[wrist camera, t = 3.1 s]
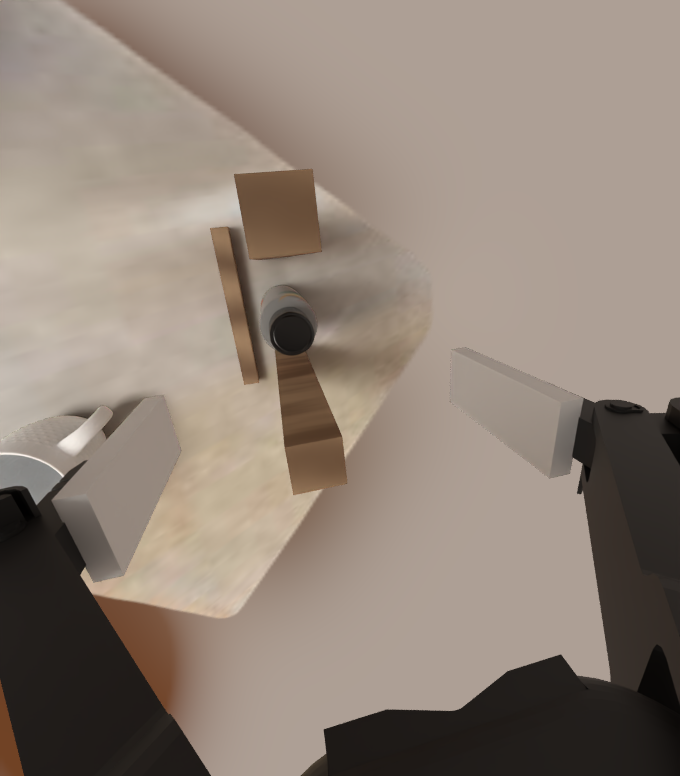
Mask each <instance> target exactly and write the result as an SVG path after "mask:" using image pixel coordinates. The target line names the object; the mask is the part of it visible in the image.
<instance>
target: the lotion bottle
mask: <svg viewBox="0 0 680 776" xmlns="http://www.w3.org/2000/svg"><path fill="white" fill-rule="evenodd" d="M259 326H260V331H261V334H262V337H263V338H264V340H265V341H266V343H267V344H268V345H269V346H270V347H272V348H273V349H275V350H277V351H278V352H280V353H282V354H284V355H289V356H294V355H299V354H301V353H303V352H305V351H306V350H308V349H309V348H310V346H311V345H312V343H313V340H314V337H315V335H316V331H317V318H316V315H315V312H314V311H313V309H312V307H311V306H310V305H309V304H308V303H307V302H306V301H305V299H304V298H303V297H302V296H301V295H300V294H299V293H298V292H297V291H295V290H294V289H292V288H291V287H288V286H283V285H280V286H275V287H273V288H271V289H269V290H268V291H267V292H266V293H265V295H264V297H263V299H262V302H261V310H260V319H259Z"/></svg>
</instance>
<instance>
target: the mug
mask: <svg viewBox="0 0 680 776" xmlns="http://www.w3.org/2000/svg"><path fill="white" fill-rule="evenodd" d="M112 416H113V412H112V411H111V410H110V409H109V408H108V407H106V406H100V407H99V408H98V409H97V410H96V411H95V412H94V413H93V414H92V415H91V416H90V417H89V418H88V419H86V418H82V417H77V416H67V415H65V416H57V417H51V418H46V419H43V420H40V421H37V422H35V423H32V424H28V425H27V426H25V427H22V428H20V429H19V430H17V431H14V432H12V433H11V434H10V435H8V436H6V437H4V438H3V439H2V440H0V489H3V488H8V487H12V486H24V487H26V488H28V490H29V492H30V494H31V496H32V498H33V500H34V501H35V503H36V505H37V504H38V503H39V502H40V501H41V500H42V499H43V498H44V497H45V495H46V494H47V493H48V492H50V491H51V489H52V488H53V487H54V486H55V485H56V484H57V483H60V480H61V479H62V478H63V477H64V476H65V475H66V473H67V472H68V471H69V470H71V469H72V468H74V467H75V466H77V465H79V464H80V463H82V462H83V461H85V460H89V458H90V457H91V456H92V455H93V454H94V453H95V452H96V451H97V450H98V449H99V448H100V446H101V445H102V444H103V443H104V442H105V441H106V437H105V434H104V432H103V431H102V428H103V427H104V426H105V425H106V424H107V422H108V421H109V420H110V419H111V417H112Z"/></svg>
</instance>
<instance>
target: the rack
mask: <svg viewBox="0 0 680 776" xmlns="http://www.w3.org/2000/svg"><path fill="white" fill-rule="evenodd" d="M234 178H235V183H236V188H237V194H238V199H239V204H240V210H241V215H242V221H243V226H244V231H245V237H246V242H247V247H248V253H249V258H250V259H255V260H262V259H271V258H281V257H290V256H296V255H303V254H309V253H315V252H322V250H321V241H320V232H319V223H318V214H317V205H316V196H315V187H314V178H313V170H312V169H305V170H290V171H275V172H260V173H246V174H234ZM210 230H211V235H212V240H213V244H214V249H215V253H216V258H217V262H218V267H219V271H220V276H221V281H222V285H223V290H224V294H225V299H226V303H227V308H228V312H229V317H230V321H231V326H232V331H233V335H234V340H235V344H236V349H237V353H238V358H239V362H240V367H241V371H242V376H243V381H244V385H246V384H252V383H259V375H258V370H257V365H256V360H255V355H254V350H253V345H252V340H251V335H250V330H249V325H248V320H247V315H246V310H245V305H244V300H243V295H242V290H241V285H240V280H239V275H238V270H237V266H236V261H235V256H234V251H233V246H232V241H231V236H230V231H229V228H228V227H220V228H210ZM275 354H276V364H277V374H278V385H279V395H280V405H281V415H282V425H283V435H284V445H285V452H286V457H287V463H288V468H289V473H290V479H291V484H292V489H293V495H297V494H301V493H306V492H311V491H315V490H320V489H325V488H329V487H334V486H339V485H343V484H347V476H346V467H345V458H344V449H343V440H342V435H341V433H340V430H339V428H338V426H337V423H336V421H335V419H334V416H333V414H332V412H331V410H330V407H329V405H328V403H327V400H326V398H325V396H324V393H323V391H322V389H321V386H320V384H319V382H318V379H317V377H316V375H315V372H314V370H313V368H312V365H311V363H310V361H309V358H308V356H307V354H306V351H305V352H303V353H301V354H299V355H294V356H289V355H284V354H282V353H280V352H278V351H277V350H275Z"/></svg>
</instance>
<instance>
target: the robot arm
mask: <svg viewBox="0 0 680 776" xmlns="http://www.w3.org/2000/svg"><path fill="white" fill-rule="evenodd" d="M450 382H451V383H450V384H451V385H450V402H451V403H452V404H453V405H455V406H456V407H457V408H459V409H460V410H461V411H463V412H464V413H465V414H466V415H468V416H469V417H470V418H472V419H473V420H474V421H476V422H477V423H478V424H479V425H481V426H482V427H483V428H485V429H486V430H487V431H489V432H490V433H491V434H492V435H494V436H495V437H496V438H498V439H499V440H500V441H501V442H503V443H504V444H505V445H507V446H508V447H509V448H511V449H512V450H513V451H515V452H516V453H517V454H518V455H520V456H521V457H522V458H524V459H525V460H526V461H528V462H529V463H530V464H531V465H533V466H534V467H535V468H537V469H538V470H539V471H540V472H542V473H543V474H544V475H546V476H547V477H548V478H554V477H558V476H563V475H567V474H570V470H571V464H572V459H573V458H575V459H576V460H578V461H579V462H581V463H583V465H582V471H581V476H580V481H579V486H578V491H577V494H581V493H582V491H583V493H584V499H585V506H586V513H587V519H588V526H589V533H590V539H591V546H592V553H593V560H594V566H595V573H596V579H597V586H598V592H599V600H600V605H601V613H602V619H603V626H604V633H605V640H606V646H607V653H608V660H609V666H610V675H611V682H608V681H604V680H600V679H596V678H589V677H583V676H577V675H576V674H575V673H574V672H573V670H572V669H571V667H570V666H569V665H568V663H567V662H566V661H565V659H564V658H563V657H562V655H558V656H555V657H552V658H548V659H545V660H542V661H539V662H536V663H533V664H529V665H527V666H523V667H520V668H517V669H514V670H510V671H507V672H506V673H505V674H504V675H503V676H501V677H500V678H499V679H497V680H496V681H495V682H494V683H492V684H491V685H490V686H489V687H488V688H486V689H485V690H484V691H482V692H481V693H480V694H479V695H477V696H476V697H475V698H474V699H472V700H471V701H470V702H469V703H467V704H466V705H465V706H464V707H462V708H461V709H459V710H455V711H428V710H425V711H424V710H384V711H381V712H378V713H374V714H371V715H368V716H365V717H362V718H358V719H355V720H352V721H349V722H346V723H343V724H339V725H336V726H333V727H330V728H327V729H324V736H325V744H326V753H327V754H325V755H324V756H323V757H321V758H320V759H319V760H317V761H316V762H315V763H313V764H312V765H311V766H310V767H309V768H308V769H307V770H306V771H305V772H304V773H303V774H302V775H301V776H680V398H674V399H671V400H670V402H669V405H668V409H667V412H666V413H649V412H648V411H647V410H646V409H645V408H644V407H642V406H640V405H637V404H634V403H631V402H627V401H622V400H602V401H598V402H596V403H594V402H592V401H589V400H587V399H585V398H583V397H580V396H578V395H576V394H573V393H571V392H568V391H566V390H564V389H561V388H559V387H557V386H555V385H552V384H550V383H547V382H545V381H543V380H540V379H538V378H536V377H533V376H531V375H529V374H526V373H524V372H522V371H519V370H517V369H515V368H513V367H510V366H508V365H506V364H503V363H501V362H498V361H496V360H494V359H492V358H489V357H487V356H485V355H482V354H480V353H478V352H476V351H473V350H471V349H469V348H466V347H465V348H458V349H452V350H451V379H450ZM180 453H181V448H180V445H179V441H178V438H177V435H176V432H175V429H174V426H173V423H172V419H171V416H170V413H169V410H168V407H167V404H166V400H165V397H164V395H160V396H154V397H148V398H144V399H143V400H142V401H141V402H140V404H139V405H138V406H137V407H136V408H135V409H134V410H133V411H132V412H131V413H130V415H129V416H128V417H127V418H126V419H125V420H124V421H123V422H122V423H121V424H120V426H119V427H118V428H117V429H116V430H115V431H114V432H113V433H112V434H111V435H110V437H109V438H108V439H107V440H106V441H105V442H104V443H103V444H102V445H101V446H100V448H99V449H98V450H97V451H96V452H95V453H94V454H93V455H92V456H91V457H90V458H89V460H85V461H83V462H82V463H80V464H79V465H77V466H75V467H74V468H72V469H71V470H69V471H68V472H67V473H66V475H65V476H64V477H63V478H62V479H61V480H60V483H57V484H56V485H55V486H54V487H53V488H52V489H51V491H50V492H48V493H47V494H46V495H45V497H44V498H43V499H42V500H41V501H40V502H39V503H38V504H37V505H36V503H35V501H34V500H33V498H32V496H31V494H30V492H29V490H28V488H26V487H24V486H12V487H8V488H3V489H0V680H1V684H2V688H3V692H4V696H5V700H6V704H7V708H8V712H9V716H10V720H11V724H12V729H13V732H14V736H15V741H16V745H17V749H18V753H19V757H20V761H21V764H22V769H23V773H24V776H211V775H210V774H209V772H208V770H207V769H206V768H205V766H204V764H203V763H202V761H201V760H200V758H199V756H198V755H197V753H196V752H195V750H194V749H193V747H192V745H191V744H190V742H189V741H188V739H187V738H186V736H185V735H184V733H183V731H182V730H181V729H180V727H179V725H178V724H177V722H176V721H175V719H174V718H173V717H172V716H171V714H168V713H167V712H166V710H165V709H164V707H163V706H162V704H161V702H160V701H159V700H158V698H157V696H156V695H155V693H154V691H153V690H152V688H151V687H150V685H149V684H148V682H147V680H146V679H145V677H144V676H143V674H142V673H141V671H140V669H139V668H138V666H137V665H136V663H135V661H134V660H133V658H132V657H131V655H130V654H129V652H128V650H127V649H126V648H125V646H124V644H123V642H122V641H121V639H120V638H119V636H118V635H117V633H116V631H115V630H114V628H113V627H112V625H111V624H110V622H109V620H108V619H107V617H106V616H105V614H104V613H103V611H102V609H101V608H100V606H99V605H98V603H97V601H96V600H95V598H94V597H93V595H92V593H91V592H90V590H89V589H88V587H87V586H86V584H85V582H84V581H83V579H82V578H81V576H80V574H81V573H82V571H83V569H84V568H85V567H86V569H87V571H88V573H89V575H90V577H91V579H92V581H93V583H94V582H98V581H103V580H107V579H112V578H116V577H120V576H124V574H125V572H126V570H127V568H128V566H129V563H130V561H131V559H132V557H133V555H134V553H135V550H136V548H137V546H138V544H139V542H140V540H141V537H142V535H143V533H144V531H145V529H146V527H147V524H148V522H149V520H150V518H151V516H152V514H153V511H154V509H155V507H156V505H157V503H158V501H159V498H160V496H161V494H162V492H163V490H164V487H165V485H166V483H167V481H168V479H169V477H170V474H171V472H172V470H173V468H174V466H175V464H176V461H177V459H178V457H179V455H180Z"/></svg>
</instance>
